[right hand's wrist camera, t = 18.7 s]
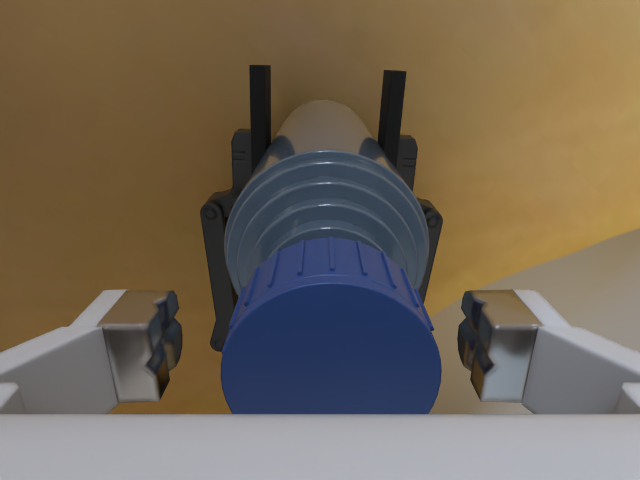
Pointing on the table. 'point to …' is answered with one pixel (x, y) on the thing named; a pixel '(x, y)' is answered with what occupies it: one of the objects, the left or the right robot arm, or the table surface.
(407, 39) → the table surface
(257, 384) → the cap
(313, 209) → the bottle
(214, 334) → the left robot arm
